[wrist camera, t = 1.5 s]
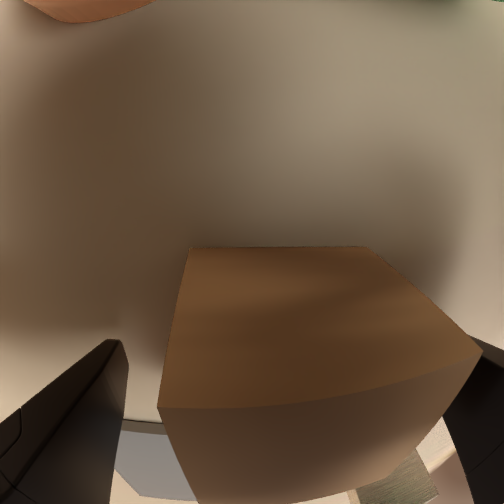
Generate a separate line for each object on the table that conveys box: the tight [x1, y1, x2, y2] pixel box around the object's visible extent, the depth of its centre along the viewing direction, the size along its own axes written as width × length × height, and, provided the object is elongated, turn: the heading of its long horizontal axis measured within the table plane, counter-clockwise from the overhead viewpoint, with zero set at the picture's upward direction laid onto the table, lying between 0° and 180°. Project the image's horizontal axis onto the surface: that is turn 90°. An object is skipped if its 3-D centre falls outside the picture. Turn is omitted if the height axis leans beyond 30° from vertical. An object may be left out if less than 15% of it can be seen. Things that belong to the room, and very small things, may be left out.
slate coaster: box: [114, 420, 197, 501], centre depth 12 cm, size 11×11×1 cm
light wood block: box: [347, 448, 439, 504], centre depth 11 cm, size 4×4×6 cm
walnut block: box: [157, 247, 483, 504], centre depth 6 cm, size 5×5×5 cm
